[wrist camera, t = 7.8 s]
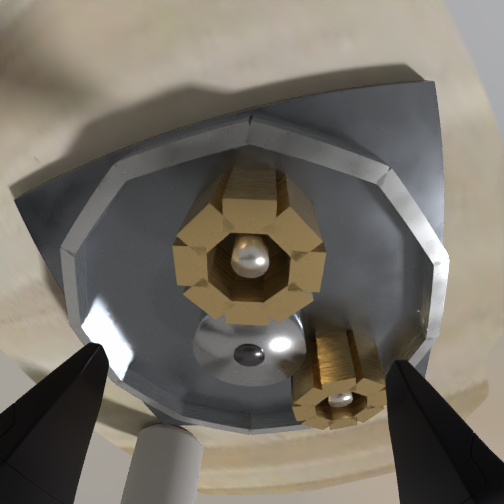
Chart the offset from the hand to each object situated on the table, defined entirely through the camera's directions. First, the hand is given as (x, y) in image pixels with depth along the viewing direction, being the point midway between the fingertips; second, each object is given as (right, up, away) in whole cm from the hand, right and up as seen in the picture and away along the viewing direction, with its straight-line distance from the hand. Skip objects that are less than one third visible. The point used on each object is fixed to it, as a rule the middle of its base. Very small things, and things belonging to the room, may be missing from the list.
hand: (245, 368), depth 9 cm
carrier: (0, -1, +12) cm, 12 cm away
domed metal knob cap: (0, -1, +11) cm, 11 cm away
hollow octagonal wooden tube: (0, +5, +8) cm, 9 cm away
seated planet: (+6, -5, +13) cm, 15 cm away
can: (-9, -18, +23) cm, 30 cm away
